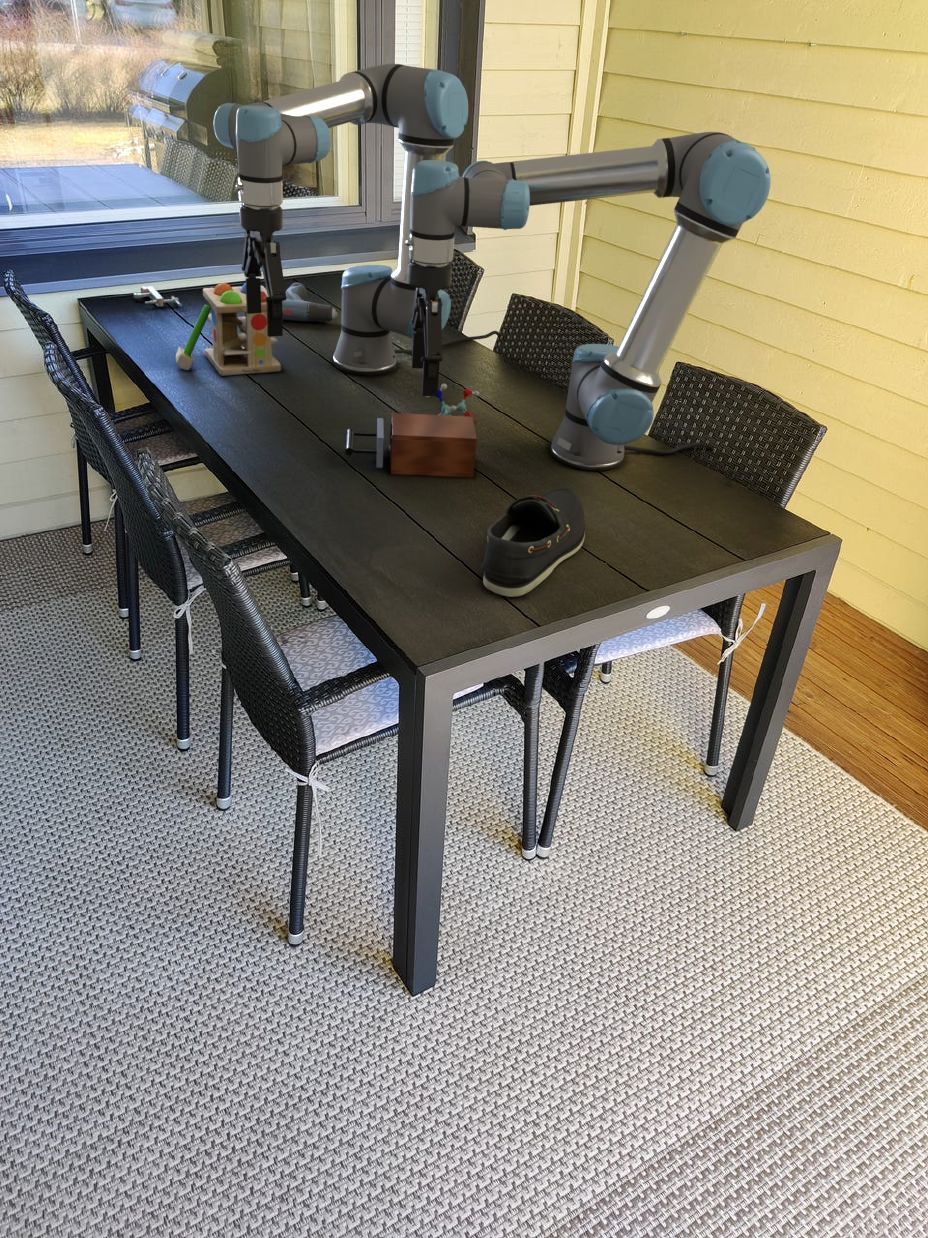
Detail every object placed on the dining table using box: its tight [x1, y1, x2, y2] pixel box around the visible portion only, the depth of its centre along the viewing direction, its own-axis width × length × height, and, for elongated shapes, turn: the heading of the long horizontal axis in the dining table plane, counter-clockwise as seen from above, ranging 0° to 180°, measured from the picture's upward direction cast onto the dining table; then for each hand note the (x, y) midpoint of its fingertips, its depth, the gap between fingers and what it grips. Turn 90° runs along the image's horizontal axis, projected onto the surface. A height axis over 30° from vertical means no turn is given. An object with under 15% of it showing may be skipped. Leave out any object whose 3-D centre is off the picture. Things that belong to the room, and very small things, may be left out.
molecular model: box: [424, 383, 480, 418], centre depth 211 cm, size 12×10×10 cm
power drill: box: [282, 282, 338, 322], centre depth 265 cm, size 5×19×20 cm
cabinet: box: [390, 412, 478, 478], centre depth 193 cm, size 16×11×8 cm, turn 94°
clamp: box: [133, 285, 183, 308], centre depth 263 cm, size 15×2×10 cm
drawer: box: [344, 417, 392, 469], centre depth 193 cm, size 21×9×6 cm, turn 94°
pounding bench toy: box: [174, 282, 282, 377], centre depth 225 cm, size 23×14×18 cm, turn 116°
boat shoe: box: [481, 487, 586, 598], centre depth 167 cm, size 13×33×10 cm, turn 147°
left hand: (264, 324), depth 185 cm, fingers open, 13 cm apart
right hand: (424, 381), depth 178 cm, fingers open, 13 cm apart
